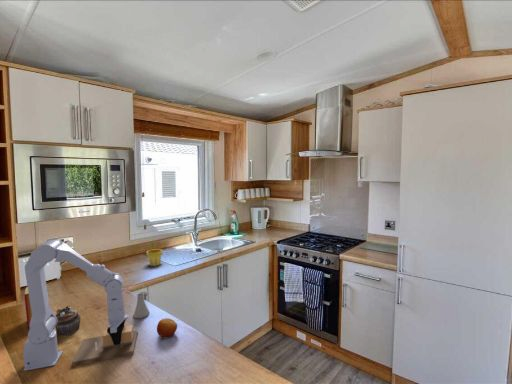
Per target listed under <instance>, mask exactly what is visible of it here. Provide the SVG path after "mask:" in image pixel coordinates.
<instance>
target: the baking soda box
mask: <svg viewBox="0 0 512 384" xmlns="http://www.w3.org/2000/svg"><path fill="white" fill-rule="evenodd" d="M23 296H24V305H25V313H26V322H27V323H26V325H27V330H30V326H29V325H30V321H31V317H32V312H31V306H30V299H29V293H28V287H27V286H26V287H25V290H24V295H23Z"/></svg>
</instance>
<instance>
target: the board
mask: <svg viewBox="0 0 512 384" xmlns="http://www.w3.org/2000/svg"><path fill="white" fill-rule="evenodd" d="M138 334H139V333H138V329H137V330H133V336H134V337H133V342H132V344H127V345H121V346H116V347H110V348H104V349H103V337H102V336H103V335H100V336H96V337H95V336H94V337H89V338H83V339H82V342H81V343H80V345H79V348H78V350H77V351H76V353H75V355H74V357H73V360H72V361H71V366H72V367H75V366H80V365H85V364H90V363H94V362H95V363H97V362H102V361H107V360H108V361H109V360H113V359H118V358H123V357H128V356H133V355H134V353H135V350H136V349H135V348H136V345H137V338H138Z"/></svg>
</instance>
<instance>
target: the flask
mask: <svg viewBox="0 0 512 384" xmlns="http://www.w3.org/2000/svg"><path fill="white" fill-rule="evenodd" d="M136 297H137V299H136V300H137V302H136V306H135V309H134V313H133V318H134V319H143V318H146V317H149V315H150V310H149V308H148V306H147V304H146V302H145V299H144V298H145V293H144V292H140V293H137V294H136Z"/></svg>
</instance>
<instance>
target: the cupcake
mask: <svg viewBox="0 0 512 384" xmlns="http://www.w3.org/2000/svg"><path fill="white" fill-rule="evenodd" d="M55 316H56V318H57V320H58V322H57V325H56V326H55V327H54V328H55V331H56V334H57V335H59V336H62V337H63V336H68V335H72V334H75V333H76V332H77V331H79V329H80V325H81V318H82V317H81V314H80V313H79V311H78V310H76V309H73V308H72V307H71V305H67V306H65V308H62V309H57V310H56V315H55Z"/></svg>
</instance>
